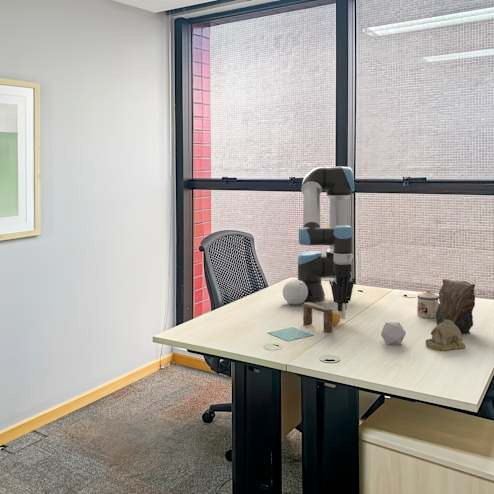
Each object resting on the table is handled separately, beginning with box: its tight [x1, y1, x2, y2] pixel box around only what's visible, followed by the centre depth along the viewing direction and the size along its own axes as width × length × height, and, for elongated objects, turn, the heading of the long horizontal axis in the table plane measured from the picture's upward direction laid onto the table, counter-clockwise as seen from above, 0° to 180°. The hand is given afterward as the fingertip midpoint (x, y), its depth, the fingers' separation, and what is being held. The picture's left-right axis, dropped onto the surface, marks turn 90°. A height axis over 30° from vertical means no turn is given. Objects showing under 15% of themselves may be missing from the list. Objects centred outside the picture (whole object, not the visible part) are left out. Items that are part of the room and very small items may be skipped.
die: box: [380, 321, 407, 346], centre depth 207 cm, size 8×9×10 cm
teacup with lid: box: [416, 288, 440, 319], centre depth 242 cm, size 12×9×12 cm
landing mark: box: [266, 326, 314, 342], centre depth 220 cm, size 13×13×1 cm
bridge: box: [302, 302, 334, 334], centre depth 227 cm, size 3×14×9 cm, turn 33°
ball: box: [332, 311, 341, 326], centre depth 232 cm, size 6×6×6 cm
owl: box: [435, 278, 476, 335], centre depth 221 cm, size 13×13×20 cm
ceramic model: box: [425, 319, 466, 351], centre depth 204 cm, size 14×11×10 cm
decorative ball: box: [282, 279, 308, 306], centre depth 266 cm, size 12×12×12 cm
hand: (341, 318), depth 235 cm, fingers closed
